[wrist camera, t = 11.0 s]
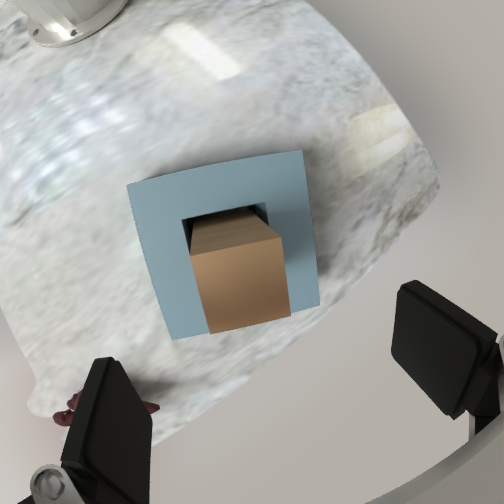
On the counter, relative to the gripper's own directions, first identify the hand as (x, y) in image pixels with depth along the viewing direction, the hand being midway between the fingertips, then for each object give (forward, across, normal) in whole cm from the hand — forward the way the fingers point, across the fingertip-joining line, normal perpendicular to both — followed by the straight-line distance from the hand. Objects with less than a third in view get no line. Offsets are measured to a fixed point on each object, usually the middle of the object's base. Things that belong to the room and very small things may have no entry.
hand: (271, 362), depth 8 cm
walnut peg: (+19, 0, +1) cm, 19 cm away
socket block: (+19, 0, +1) cm, 19 cm away
